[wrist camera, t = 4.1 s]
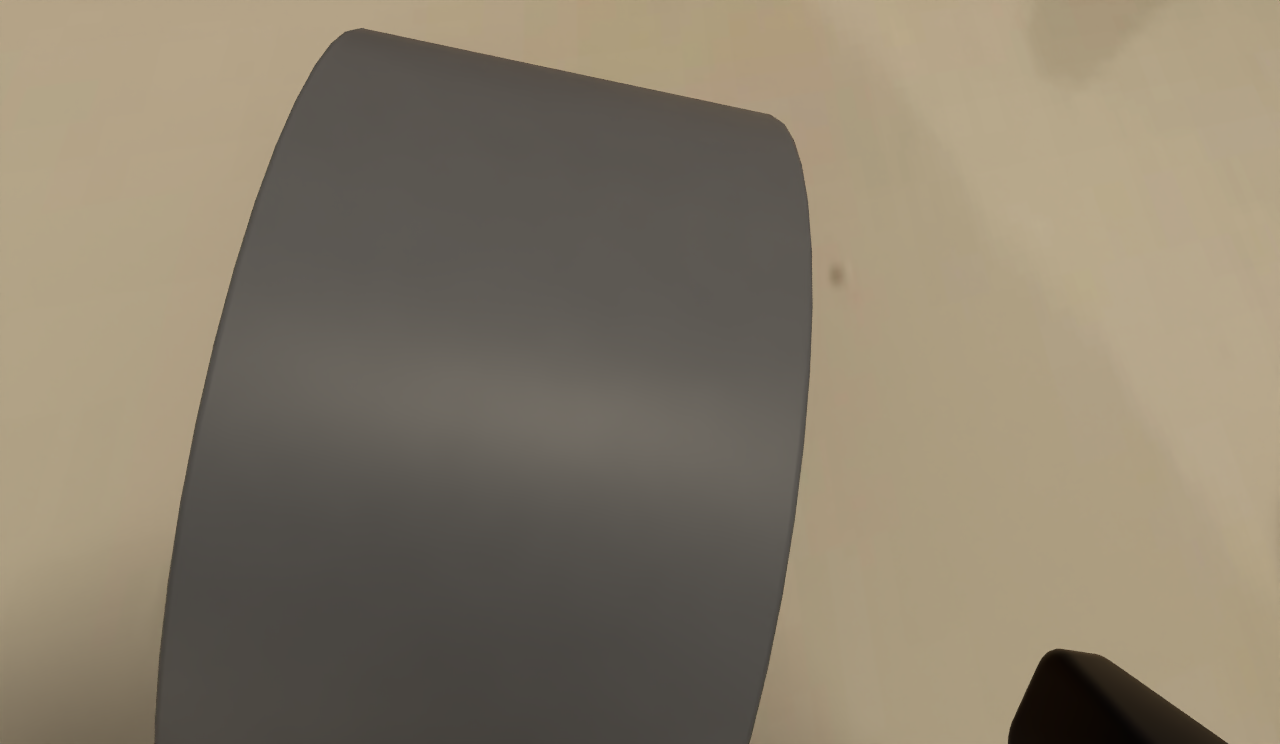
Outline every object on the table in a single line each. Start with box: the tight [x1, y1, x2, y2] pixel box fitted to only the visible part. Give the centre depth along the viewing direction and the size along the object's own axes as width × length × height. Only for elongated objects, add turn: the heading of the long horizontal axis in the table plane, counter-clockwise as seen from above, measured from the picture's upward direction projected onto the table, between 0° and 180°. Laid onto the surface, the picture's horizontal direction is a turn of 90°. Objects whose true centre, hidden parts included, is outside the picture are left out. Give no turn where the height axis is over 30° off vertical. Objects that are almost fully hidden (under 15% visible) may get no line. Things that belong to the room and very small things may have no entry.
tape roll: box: [155, 28, 812, 744], centre depth 12 cm, size 9×4×9 cm, turn 173°
